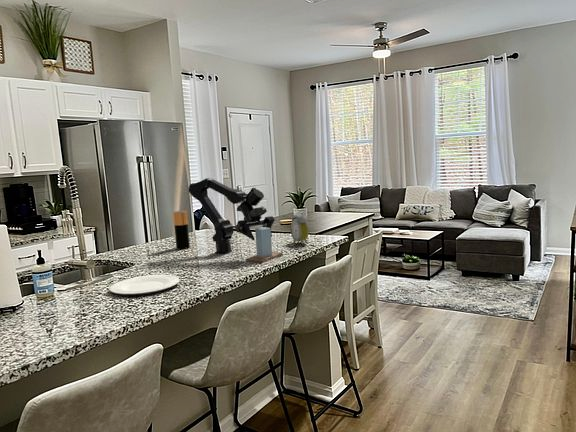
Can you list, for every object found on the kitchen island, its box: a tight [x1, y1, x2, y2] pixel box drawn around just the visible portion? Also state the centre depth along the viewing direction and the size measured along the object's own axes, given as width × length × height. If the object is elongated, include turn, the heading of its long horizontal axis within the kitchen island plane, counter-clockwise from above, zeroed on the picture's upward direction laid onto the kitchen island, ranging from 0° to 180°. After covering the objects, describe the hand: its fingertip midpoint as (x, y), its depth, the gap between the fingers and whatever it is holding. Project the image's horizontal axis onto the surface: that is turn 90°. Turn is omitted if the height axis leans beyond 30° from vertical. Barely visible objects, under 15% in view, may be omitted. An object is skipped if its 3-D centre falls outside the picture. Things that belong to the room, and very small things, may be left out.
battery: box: [172, 210, 191, 250], centre depth 241 cm, size 7×7×20 cm
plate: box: [108, 274, 181, 296], centre depth 168 cm, size 25×25×2 cm
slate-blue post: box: [254, 226, 273, 257], centre depth 205 cm, size 5×5×12 cm
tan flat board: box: [245, 251, 283, 264], centre depth 206 cm, size 16×9×1 cm, turn 147°
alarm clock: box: [290, 213, 310, 246], centre depth 237 cm, size 12×7×15 cm, turn 25°
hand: (262, 238), depth 205 cm, fingers open, 9 cm apart
